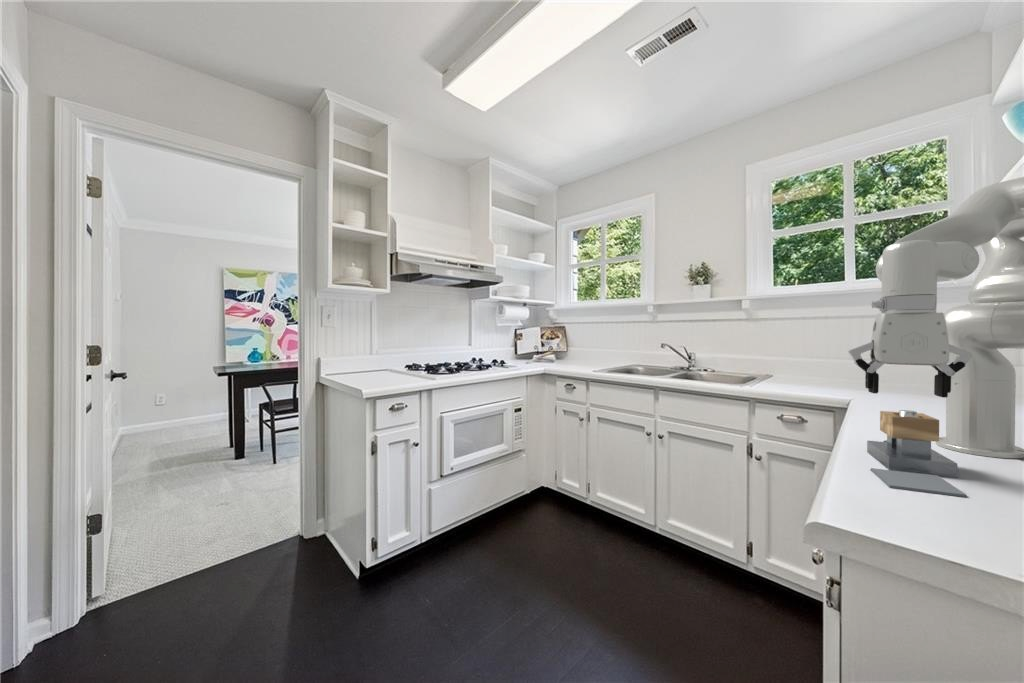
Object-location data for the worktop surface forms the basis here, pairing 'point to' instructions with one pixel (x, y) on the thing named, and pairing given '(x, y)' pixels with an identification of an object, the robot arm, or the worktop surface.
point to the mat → (917, 482)
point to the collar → (909, 426)
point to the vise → (911, 455)
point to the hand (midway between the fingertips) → (905, 394)
